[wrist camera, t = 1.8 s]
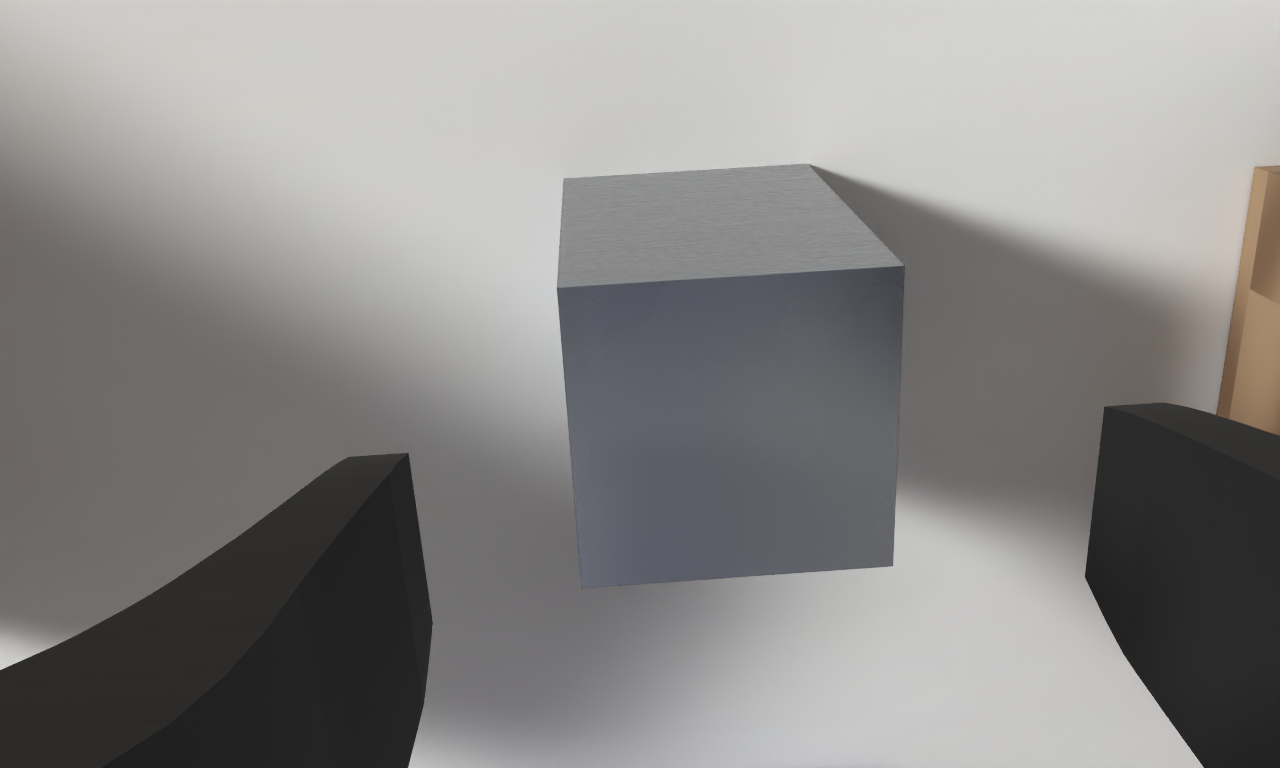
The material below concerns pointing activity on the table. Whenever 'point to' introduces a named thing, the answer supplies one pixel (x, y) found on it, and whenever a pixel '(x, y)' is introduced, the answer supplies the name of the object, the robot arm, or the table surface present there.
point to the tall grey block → (727, 376)
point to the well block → (1256, 315)
